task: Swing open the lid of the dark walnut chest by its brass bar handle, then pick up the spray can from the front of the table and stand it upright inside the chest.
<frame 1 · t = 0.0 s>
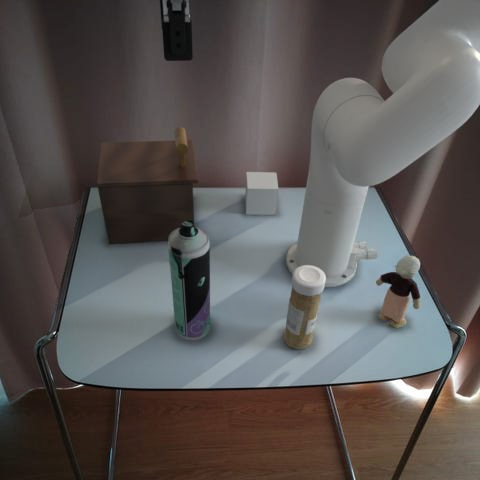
hand: (176, 44, 60), 37 cm above the table, tool pointing down, fingers open, 9 cm apart
spray can: (192, 328, 78), on the table
grandmother figurine: (388, 318, 81), on the table
chest: (151, 220, 96), on the table
white cube: (260, 206, 101), on the table
sprinkles bottle: (297, 339, 77), on the table
lid: (146, 150, 86), point 15 cm above the table, hinge at 0.0°
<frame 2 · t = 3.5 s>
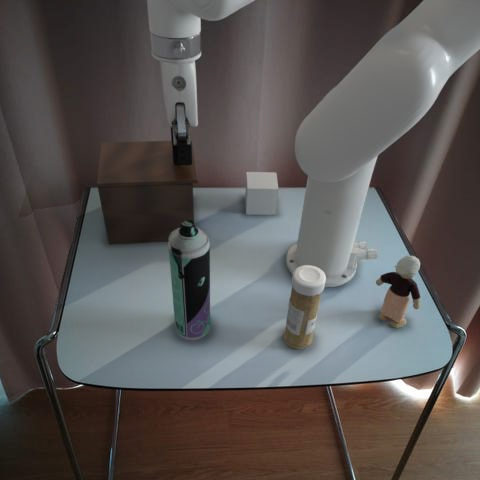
hand: (181, 153, 87), 14 cm above the table, tool pointing down, fingers closed on lid, 6 cm apart
lid: (146, 150, 86), point 15 cm above the table, hinge at 0.0°, touching gripper
everything else where it was.
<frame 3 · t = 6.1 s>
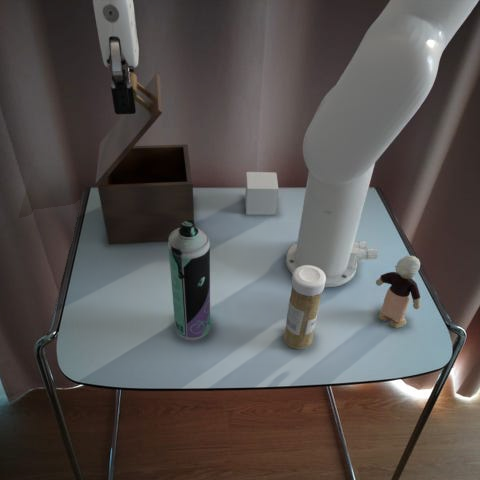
hand: (126, 102, 79), 23 cm above the table, tool pointing down, fingers closed on lid, 6 cm apart
lid: (116, 120, 81), point 20 cm above the table, hinge at 47.2°, touching gripper
everything else where it was.
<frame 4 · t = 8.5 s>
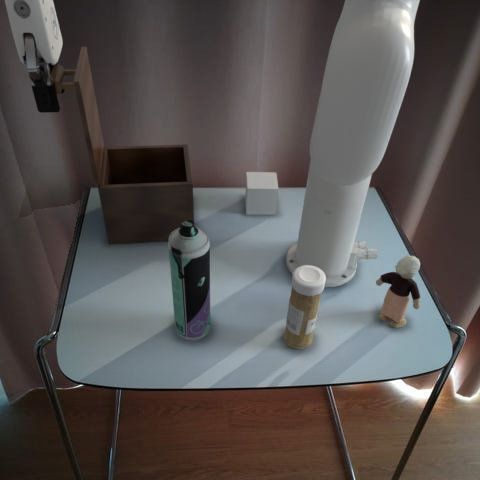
hand: (51, 100, 78), 24 cm above the table, tool pointing down, fingers closed on lid, 6 cm apart
lid: (76, 117, 80), point 21 cm above the table, hinge at 90.2°, touching gripper
everything else where it was.
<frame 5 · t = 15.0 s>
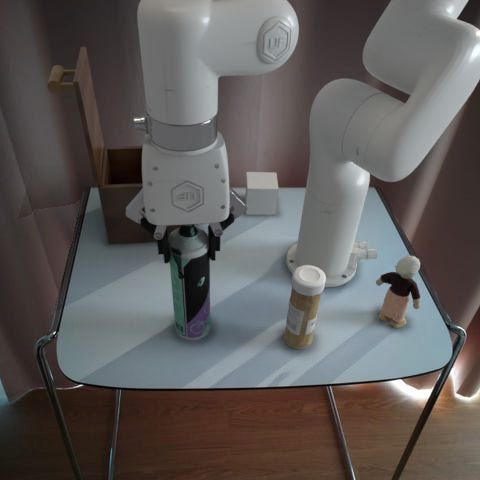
hand: (189, 254, 67), 15 cm above the table, tool pointing down, fingers closed on spray can, 5 cm apart
spray can: (193, 328, 78), on the table, touching gripper
lid: (76, 117, 80), point 21 cm above the table, hinge at 90.5°
everything else where it was.
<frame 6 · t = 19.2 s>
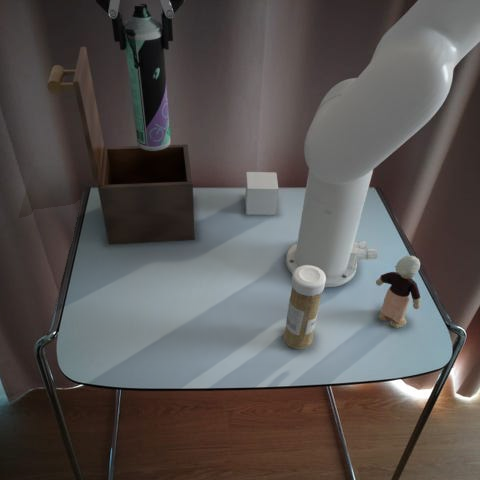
hand: (144, 45, 71), 32 cm above the table, tool pointing down, fingers closed on spray can, 5 cm apart
spray can: (154, 143, 82), point 17 cm above the table, touching gripper
everything else where it was.
when the fingers open (16 cm above the table, at t = 23.5 s): spray can stays where it is, resting on chest.
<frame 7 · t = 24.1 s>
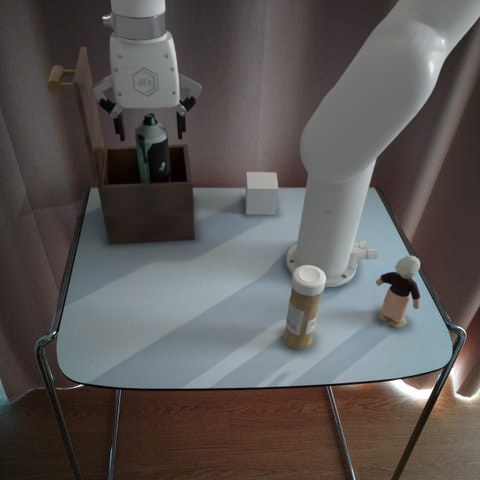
hand: (151, 136, 84), 17 cm above the table, tool pointing down, fingers open, 9 cm apart
spray can: (159, 216, 96), point 1 cm above the table, touching chest
everything else where it was.
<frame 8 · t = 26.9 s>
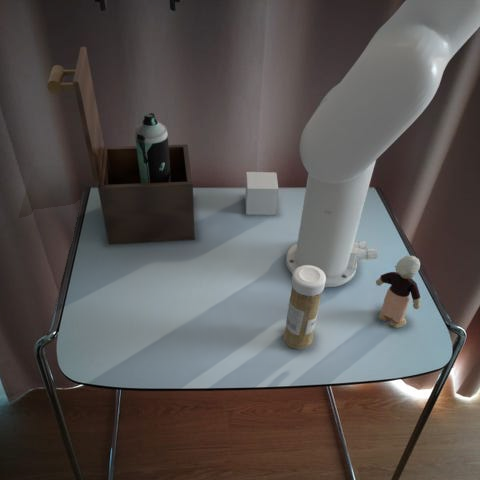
hand: (138, 8, 70), 36 cm above the table, tool pointing down, fingers open, 9 cm apart
nothing on the table moved.
at the end: lid at +90° (first picture: +0°); spray can inside the target area in the chest (1.6 cm from its centre), point 0.7 cm above the chest's base; spray can tilted 0° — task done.
